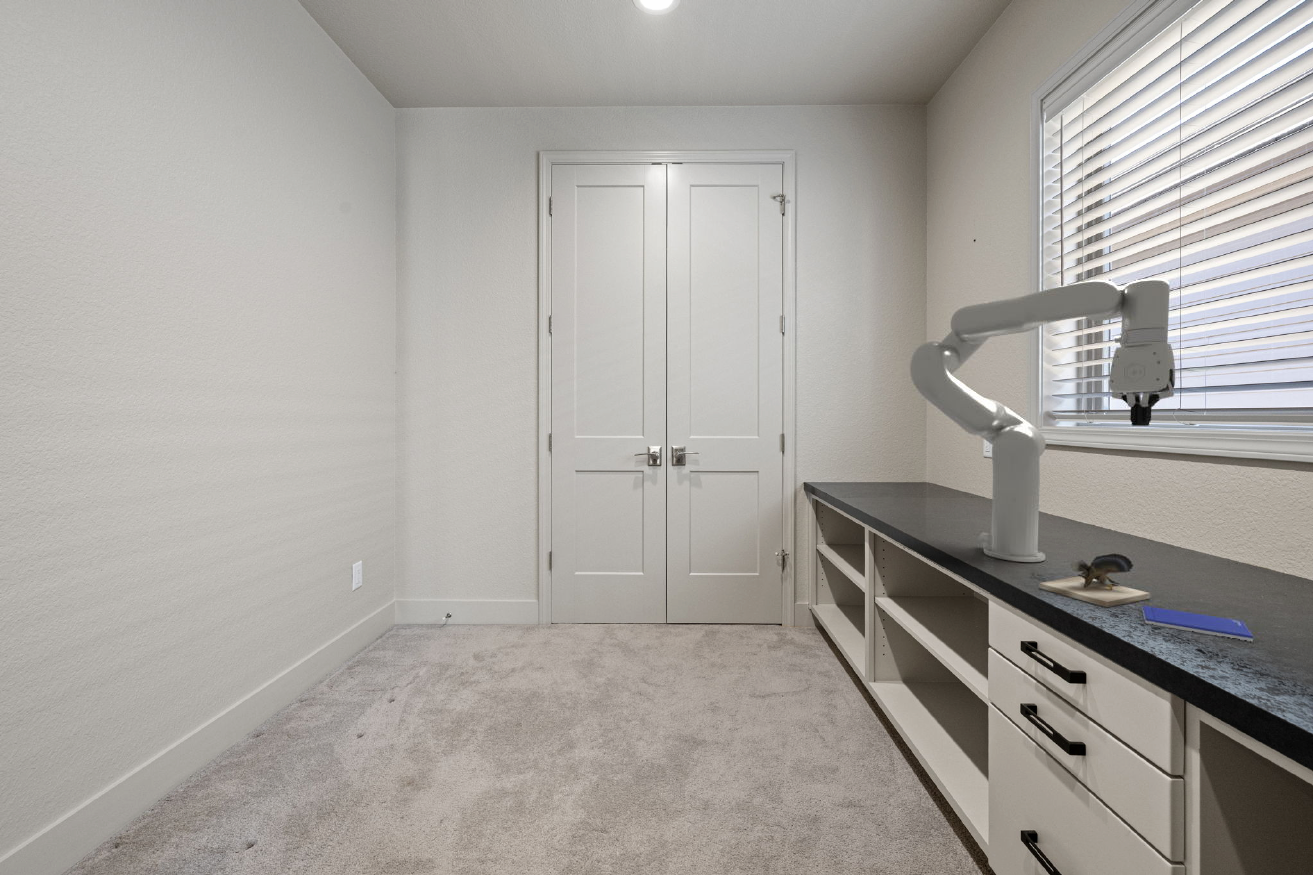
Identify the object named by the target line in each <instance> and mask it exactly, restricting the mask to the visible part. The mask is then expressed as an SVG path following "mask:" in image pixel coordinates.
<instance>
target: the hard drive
mask: <svg viewBox="0 0 1313 875" xmlns="http://www.w3.org/2000/svg"><path fill="white" fill-rule="evenodd" d="M1141 610H1142V611H1141V612H1142V615H1143V618H1144V619H1143V620H1144V622H1145V624H1149V625H1152V624H1153V625H1154V626H1159V627H1165V628H1170V629H1171V628H1172V629H1174V630H1181V631H1186V632H1187V631H1188V632H1192V631H1194V632H1193V633H1199V634H1204V635H1205V634H1206V635H1208V636H1209V635H1210V636H1211V635H1212V636H1215V635H1217V637H1221V636H1226V637H1225V638H1227V637H1230V638H1229V639H1232V638H1238V639H1240V640H1239V641H1244V640H1247V641H1246V642H1250V641H1251V642H1250V643H1254V636H1253V634H1252V632H1251V630H1249V628H1248V627H1247V625H1246V624H1245V623H1244V621H1243V620H1238V619H1232V618H1226V617H1221V616H1220V617H1219V616H1214V615H1213V616H1212V615H1207V614H1201V613H1194V612H1186V611H1179V610H1174V609H1167V608H1162V607H1155V606H1148V605H1142V606H1141ZM1238 639H1237V640H1238Z"/></svg>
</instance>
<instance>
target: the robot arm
mask: <svg viewBox="0 0 1313 875" xmlns="http://www.w3.org/2000/svg"><path fill="white" fill-rule="evenodd" d="M1170 290H1171V288H1170V282H1169V281H1168V280H1166V279H1164V278H1147V279H1139V280H1135V281H1131V282H1128V283H1127V284H1126V285H1125V286H1117V285H1116V284H1115V283H1114V282H1112V281H1110V280H1104V279H1103V280H1102V279H1101V280H1100V279H1096V280H1090V281H1089V280H1088V281H1083V282H1077V283H1071V284H1066V285H1060V286H1056V287H1051V288H1048V289H1044V290H1041V291H1037V292H1032V293H1030V294H1029V293H1028V294H1026V295H1022V296H1016V297H1012V298H1006V299H1000V300H995V301H988V302H982V303H976V304H971V305H967V306H963V307H961V308H959V309H957V310H956V311H955V312H954V313H953V314H952V316H951V319H950V329H951V331H950V332H949V333H948V334H947V335H946V336H945V338H943V339H942V341H941V342H940V341H928V342H924V343H922V344H920V345H919V346H918V347H917V348H916V349H915V351H914V352H913V354H912V357H911V360H910V364H909V365H910V366H909V368H910V369H909V372H910V377H911V381H912V383H913V385H914V387H915V388H916V390H917V391H918V392H919V393H920V394H921V396H923V397H924V399H926V400H927V401H928V402H929V403H930V404H932V405H933V406H935V407H936V408H937V409H938V410H939V411H940V412H941V413H943V414H944V415H945V416H947V417H948V418H949V419H950V420H952V421H953V422H954V423H956V424H957V425H958V426H959V427H960V428H961V429H963V430H964V431H965V432H967V434H970V435H974V436H980V438H982V439H984V440H985V441H987V442H988V443H989V444H990V445H992V447H991V459H992V460H991V462H992V501H991V502H992V503H991V504H992V505H991V506H992V507H991V533H987V532H981V533H980V535H979V536H978V537H977V540H978V541H979V542H985V543H986V546H985V547H984V548H983V553H984V554H985V555H987V556H989V557H992V558H995V559H999V560H1005V561H1009V562H1010V561H1012V562H1019V563H1039V562H1044V561H1045V560H1046V554H1045V553H1044V552H1042V551H1039V550H1038V548H1039V547H1038V542H1039V540H1038V539H1039V514H1040V513H1039V512H1040V511H1039V510H1040V508H1039V507H1040V479H1041V478H1040V477H1041V476H1040V475H1041V474H1040V472H1041V471H1040V459H1041V456H1042V455H1043V454H1044V452H1045V450H1046V446H1047V444H1046V438H1045V436H1044V435H1043V433H1042V432H1041V430H1039V429H1037V428H1036V426H1033V425H1032V424H1030V423H1029V422H1028V421H1027V420H1025V419H1024V418H1022V417H1021V416H1019V415H1018V414H1016V412H1014V411H1012V410H1011V409H1009V408H1008V407H1007V406H1005V405H1004V404H1003V403H1000V402H999V401H997V400H995V399H991V398H986V397H983V396H981V394H978V393H977V392H976V391H974V390H972V389H971V388H970V387H969V386H967V385H965V383H963V381H961V380H959V379H957V378H956V377H955V376H953V375H952V374H953V373H955V372H957V370H958V369H960V368H961V367H962V366H963V365H964V364H965V363H966V362H967V361H968V360H969V359H970V358H971V357H972V356H973V355H974V354H975V353H976V352H977V351H978V350H979V349H980V348H981V347H982V346H983V345H984V344H985V343H986V342H987V341H988V340H989V338H993V337H999V336H1007V335H1014V334H1022V333H1027V332H1031V331H1033V330H1035V329H1037V328H1039V327H1041V326H1043V325H1046V324H1050V323H1055V322H1060V321H1065V320H1072V319H1079V318H1086V319H1087V320H1090V321H1093V322H1094V321H1095V322H1097V321H1098V322H1101V321H1109V320H1113V319H1119V318H1121V328H1120V329H1121V332H1120V335H1119V336H1115V337H1114V343H1116V344H1118V343H1119V345H1120V347H1119V346H1118V347H1116V348H1115V350H1114V354H1113V357H1112V361H1111V367H1110V371H1109V381H1108V384H1109V385H1108V388H1109V391H1110V392H1112V394H1111V398H1112V399H1118V400H1122V401H1124V402H1125V403H1126V404H1127V406H1128V408H1129V407H1130V415H1129V418H1130V419H1129V420H1130V422H1131V426H1133V427H1136V426H1137V427H1143V426H1144V427H1148V426H1150V422H1151V421H1152V408H1153V407H1155V406H1156V404H1157V403H1158V402H1159V401H1160V400H1163V399H1168V398H1169V399H1170V398H1172V397H1174V396H1175V393H1174V389H1175V386H1176V385H1175V384H1176V365H1175V357H1174V352H1173V348H1172V345H1171V343H1168V341H1169V340H1168V336H1169V313H1170V312H1169V310H1170V293H1171V292H1170ZM1141 393H1142V396H1141Z"/></svg>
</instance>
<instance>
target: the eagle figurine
mask: <svg viewBox="0 0 1313 875" xmlns="http://www.w3.org/2000/svg"><path fill="white" fill-rule="evenodd" d="M1069 565H1070V567H1071V569H1072V570H1073V572H1078V573H1079V572H1080V574H1078V575H1077V577H1078V576H1079V577H1082V578H1084V579H1085V584H1084V588H1086V587H1087V586H1089V585H1091V583H1092V581H1093V579H1095V580H1097V581H1099V582H1101V583H1103V584H1105V585H1106V586H1108V587H1109V588H1110V589H1111V590H1112V584H1115V585H1120V583H1118V582H1117V581H1115V580H1113V579H1112V578H1110V576H1108V574H1118V573H1121V574H1122V573H1123V574H1124V573H1128V572H1129V573H1130V572H1131V570H1132V569H1133V567H1134V564H1133V563H1132V561H1131V560H1130V558H1128V557H1127V556H1125V555H1122V554H1119V553H1111V554H1109V553H1108V554H1103V555H1100V556H1099V555H1098V556H1095V557H1094V559H1093V560H1092V561H1091V563H1090V565H1089V564H1087V563H1086V561H1084V560H1083V559H1076V560H1072V561H1071V562H1070V564H1069Z"/></svg>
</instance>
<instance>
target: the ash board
mask: <svg viewBox="0 0 1313 875" xmlns="http://www.w3.org/2000/svg"><path fill="white" fill-rule="evenodd" d="M1084 584H1085V579H1084V578H1082V577H1079V576H1078V575H1077V576H1074V577H1068V578H1061V579H1055V580H1048V581H1044V582H1039V583H1038V588H1039V589H1040V590H1041V589H1042V590H1045V591H1048V592H1052V593H1056V594H1058V595H1063V596H1065V597H1070V598H1072V599H1077V600H1079V601H1084V602H1086V603H1090V604H1094V605H1097V606H1101V607H1105V608H1109V607H1110V608H1111V607H1114V606H1116V607H1117V606H1119V605H1123V604H1129V603H1135V602H1140V601H1144V600H1148V599H1150V597H1151V593H1150V592H1147V591H1143V590H1139V589H1134V588H1130V587H1127V586H1123V585H1120V584H1115V583H1111V584H1112V590H1111V589H1110V588H1109V587H1108V586H1106V585H1105V584H1103V583H1101V582H1099V581H1097V580H1095V579H1093V581H1092V583H1091V585H1089V586H1087V587H1086V588H1084Z"/></svg>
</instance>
